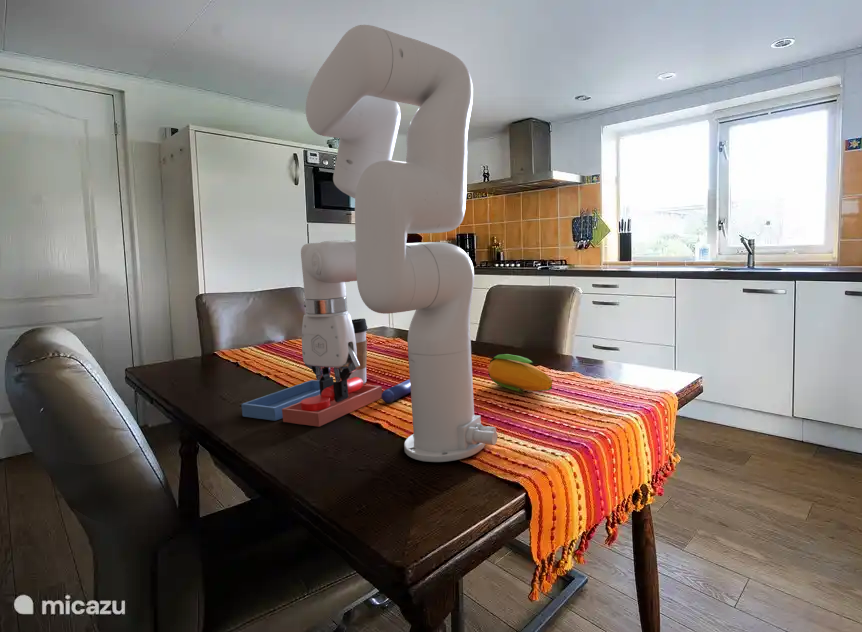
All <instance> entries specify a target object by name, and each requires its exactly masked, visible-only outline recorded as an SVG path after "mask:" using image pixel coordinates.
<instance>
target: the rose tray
mask: <svg viewBox="0 0 862 632" xmlns="http://www.w3.org/2000/svg"><path fill="white" fill-rule="evenodd" d="M382 393H383V386H382V385H374V384H363V386H362V388H361V389H359V390H357V391H355V392H352V393H350V394H348V398H347V399H345V400H342V401H340V402H335V400H333V401H330V403H331V405H330V406H329V407H328V408H326V409H323V410H318V411H304V410H302V409H301V402H299V403H296V404H294V405H291V406H289V407H286V408H283V409H282V414H283V418H282V422H283V423H289V424H297V425H303V426H312V427H322V426H324V425H326V424H329V423H331V422H333V421H335V420H337V419H340V418H341V417H343V416H346V415H348V414H350V413H352V412H354V411H357V410H358V409H361V408H363V407H365V406H367V405H370V404H372V403H374V402H376V401H379V400H380V399H382V397H381V395H382ZM317 396H321V395H317Z"/></svg>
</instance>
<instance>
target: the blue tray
mask: <svg viewBox="0 0 862 632" xmlns="http://www.w3.org/2000/svg"><path fill="white" fill-rule="evenodd" d="M319 381H320V380H317V379H310V380H307V381H304V382H301V383H298V384H296V385H293V386H290V387H287V388H284V389H281V390H278V391H275V392H272V393H270V394H266V395H264V396H261V397H258V398H254V399H252V400H249V401H246V402H243V403H240V405H241V406H240V407H241V415H242V417H245V418H253V419H259V420H265V421H266V420H267V421H274V422H276V421H279V420H281V419H283V414H282V409H283V408H286V407H289V406H291V405H294V404H296V403H299V402H301V401H302V400H303V399H306V398H309V397H314V396H317V395H320V384H319Z"/></svg>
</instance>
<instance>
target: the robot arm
mask: <svg viewBox="0 0 862 632" xmlns="http://www.w3.org/2000/svg"><path fill="white" fill-rule="evenodd" d="M317 71H318V72H317V73H316V75H315V76H314V78H313V80H312V82H311V85H310V87H309V90H308V92H307V96H306V100H305V101H306V102H305V117H306V122H307V123H308V126H309V127H310V129H311V130H312V131H313V132H314V133H315V134H316V135H319V136H321V137H327V138H335V139H339V142H338V147H337V153H336V159H335V165H334V169H333V175H332V181H333V184H334V186H335V187H336V188H337V189H338V190H339V191H341V192H342V193H343V194H345V195H347V196H349V197H350V198H352V199H354V234H355V235H354V238H355V239H341V240H339V239H338V240H335V239H334V240H325V241H324V240H323V241H319V242H309V243H304V244H303V245H302V247H301V249H300V260H301V261H300V262H301V270H302V283H303V292H304V293H303V294H304V300H305V301H304V302H303V307H304V308H305V314H304V315H303V317H302V323H301V353H302V361H303V363H304V365H305V366H306V367H307V368H309V369H310V370H311V371H312V373H314V375H315V380H319V384H320V395H321V393H322V391H323V390H324V389H325V388H327V387H330V386H332V385H333V387H334V395H335V396H334V398H335V402H340V401H342V400H345V399H347V398H348V386H347V379H349V378H350V375H351V374H352V372H353V371H355V370H357V369H359V368H360V364H359V362H358V360H357V348H356V339H355V333H354V328H353V324H352V320H353V319H352V316H351V313H349V311H348V299H347V286H346V285H347V284H346V283H350V282H356V283H357V289H358V293H359V296H360V298H361V300H362V302H363V304H364V305H365V306H366V307H367V309H369V310H371V311H372V312H375V313H377V314H397V313H404V312H411V311H414V314H413V316H412V318H411V320H410V324H409V327H408V332H407V357H408V358H407V359H408V371H409V379H410V388H411V393H410V397H411V398H410V399H411V400H410V402H411V416H412V431H413V434H410V436H408V437H407V438H406V439H405V440H404V443H403V449H404V453H405V454H406V455H407V456H408V457H409V458H411V459H413V460H416V461H420V462H425V463H426V462H427V463H448V462H454V461H459V460H463V459H466V458H469V457H472V456H474V455H476V454H478V453H479V452H481V451H482V450H483V449H484V448H485V446H486V445H491V446H496V444H497V442H498V432H497V427H496V426H490V425H489V426H488V425H487V426H484V425H483V424H482V419H481V418H482V417H481V415H477V414H475V401H474V400H475V399H474V382H473V379H474V378H473V361H472V338H471V310H472V309H471V308H472V300H473V294H474V285H475V268H474V264H473V261H472V260H471V257H470V256H469V255H468V253H467V252H466V251H465V250H464V249H462V247H459V246H458V245H456V244H453V243H448V242H443V241H441V242H439V241H427V242H424V241H423V242H407V240H408V234H440V233H448V232H452V231H454V230H456V229H457V228H458V227H460V225H461V224H462V223H463V221H464V218H465V213H466V205H467V204H466V203H467V179H468V178H467V175H468V135H469V126H470V119H471V114H472V108H473V101H474V100H473V99H474V85H473V80H472V76H471V73H470V70H469V68H468V67H467V65H466V64H465V63H464V62H463V61H462V60H461V58H459V57H458V56H456V55H455V54H453V53H451V52H449V51H447V50H445V49H442V48H440V47H438V46H435V45H433V44H429V43H427V42H425V41H421V40H418V39H415V38H412V37H409V36H405V35H402V34H399V33H396V32H393V31H390V30H387V29H385V28H381V27H378V26H376V25H370V24H358V25H355V26H352V28H350V29H348V30H347V32H345V33H344V34H343V35H342V37H341V38H340V39H339V41H338V42H337V44H336V45H335V46H334V47H333V49H332V51H331V52H330V54H329V55H328V57H326V59H325V61H324V62H323V63H322V65H321V66H320V67H319V69H318V70H317ZM399 103H402V104H406V105H412V106H417V107H418V108H417V110H416V111H415V113H414V115H413V117H412V118H411V120H410V122H409V125H408V127H407V130H406V155H405V157H406V159H405V161H402V160H401V161H400V160H392V159H393V155H394V151H395V146H396V142H397V137H398V133H399V128H400V123H401V107H400V105H399ZM348 363H349V366H348ZM340 368H342V372H341V369H340ZM331 369H333V374H334V376H331V375H332V373H331ZM334 379H335V381H334Z"/></svg>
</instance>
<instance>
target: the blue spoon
mask: <svg viewBox="0 0 862 632" xmlns="http://www.w3.org/2000/svg"><path fill="white" fill-rule="evenodd" d="M409 394H411V388H410V378H409V379H406V380H405V381H402V382H400V383H397V384H395V385H393V386H390V387H389V388H386V389H385V390H382V395H381V397H382V398H381V400H382V401H383V402H384V403H386V404H390V403H392V402H395V401H397V400H399V399H401V398H403V397H405V396H407V395H409Z"/></svg>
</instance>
